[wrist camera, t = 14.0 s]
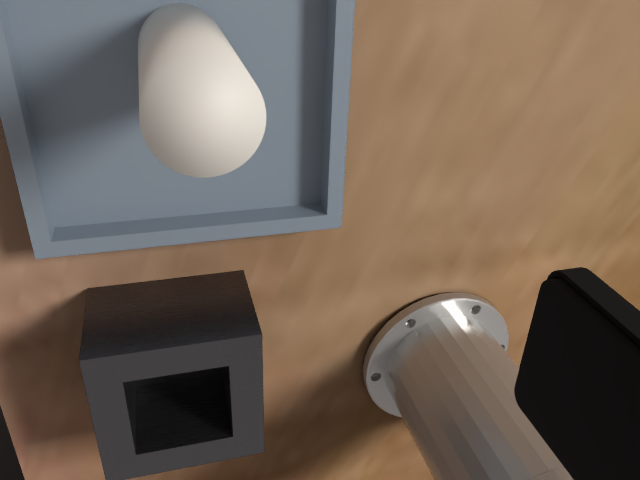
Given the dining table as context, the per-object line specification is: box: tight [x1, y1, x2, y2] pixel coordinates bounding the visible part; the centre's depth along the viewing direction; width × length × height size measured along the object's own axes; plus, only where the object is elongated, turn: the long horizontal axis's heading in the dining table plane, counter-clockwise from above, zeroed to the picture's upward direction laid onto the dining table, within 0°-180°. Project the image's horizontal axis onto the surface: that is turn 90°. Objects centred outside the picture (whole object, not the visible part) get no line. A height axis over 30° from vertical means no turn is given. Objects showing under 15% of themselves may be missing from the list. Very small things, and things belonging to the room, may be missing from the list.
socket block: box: [79, 270, 264, 480], centre depth 38 cm, size 10×10×7 cm
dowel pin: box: [138, 3, 266, 178], centre depth 26 cm, size 4×4×12 cm
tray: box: [0, 0, 355, 259], centre depth 31 cm, size 22×18×2 cm
